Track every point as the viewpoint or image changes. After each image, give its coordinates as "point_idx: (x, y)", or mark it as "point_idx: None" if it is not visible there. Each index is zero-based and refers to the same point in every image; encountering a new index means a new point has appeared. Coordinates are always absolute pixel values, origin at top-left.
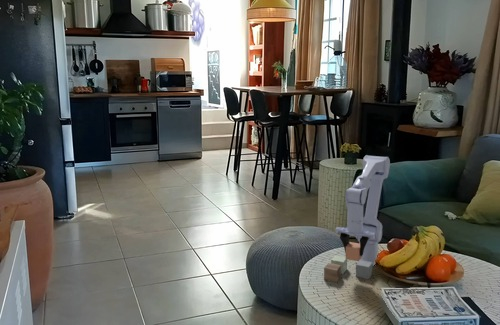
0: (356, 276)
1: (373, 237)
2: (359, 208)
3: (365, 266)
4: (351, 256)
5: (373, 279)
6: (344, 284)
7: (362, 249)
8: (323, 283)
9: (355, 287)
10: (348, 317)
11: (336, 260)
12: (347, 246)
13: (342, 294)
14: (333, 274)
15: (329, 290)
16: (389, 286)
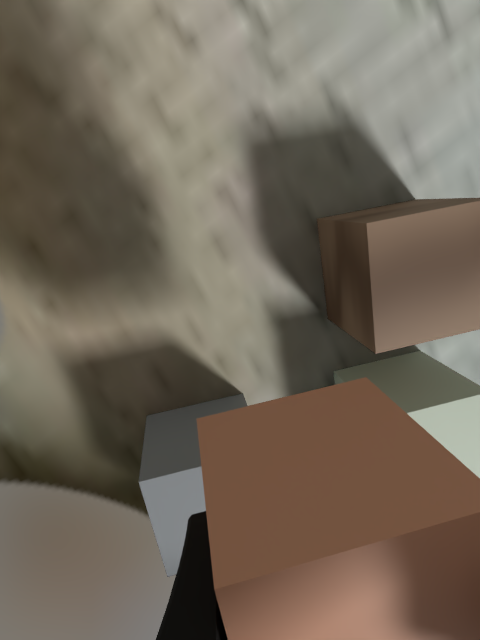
0: (237, 395)
1: None
2: None
3: (173, 472)
4: (308, 423)
5: (116, 433)
6: (252, 226)
7: (164, 625)
8: (395, 136)
9: (156, 234)
10: None
11: (445, 410)
12: (478, 527)
13: (180, 38)
14: (373, 215)
15: (305, 42)
16: None
